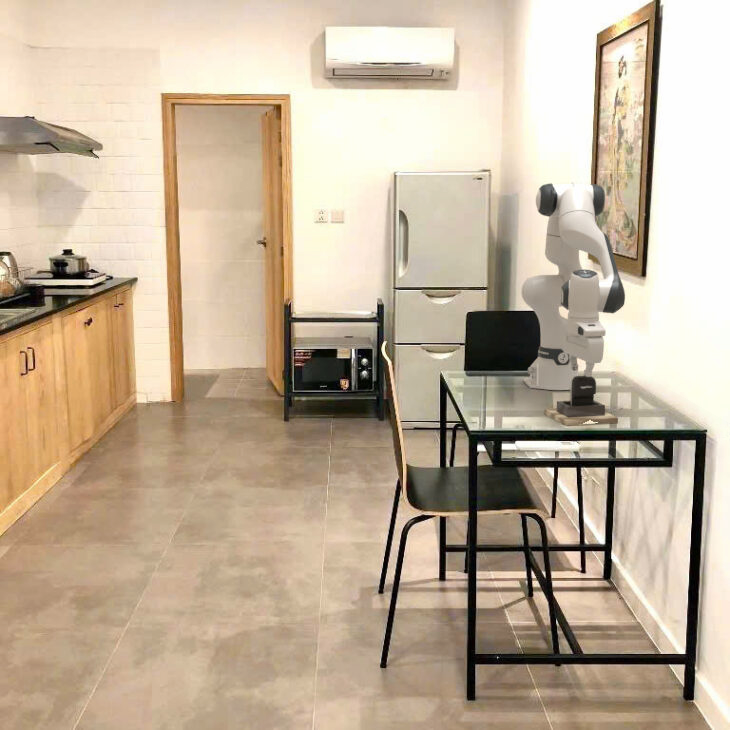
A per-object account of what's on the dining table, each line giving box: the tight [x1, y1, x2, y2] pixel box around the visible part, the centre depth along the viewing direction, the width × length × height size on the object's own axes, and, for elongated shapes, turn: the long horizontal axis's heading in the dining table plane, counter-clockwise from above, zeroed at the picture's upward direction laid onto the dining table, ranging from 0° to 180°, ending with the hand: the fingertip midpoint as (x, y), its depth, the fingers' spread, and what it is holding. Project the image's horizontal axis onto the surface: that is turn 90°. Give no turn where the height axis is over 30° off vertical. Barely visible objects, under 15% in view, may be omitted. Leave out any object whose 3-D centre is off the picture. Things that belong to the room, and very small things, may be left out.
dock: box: [543, 399, 619, 427], centre depth 266 cm, size 16×16×4 cm
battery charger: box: [569, 374, 597, 406], centre depth 264 cm, size 7×4×11 cm, turn 101°
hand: (581, 373), depth 265 cm, fingers open, 8 cm apart
